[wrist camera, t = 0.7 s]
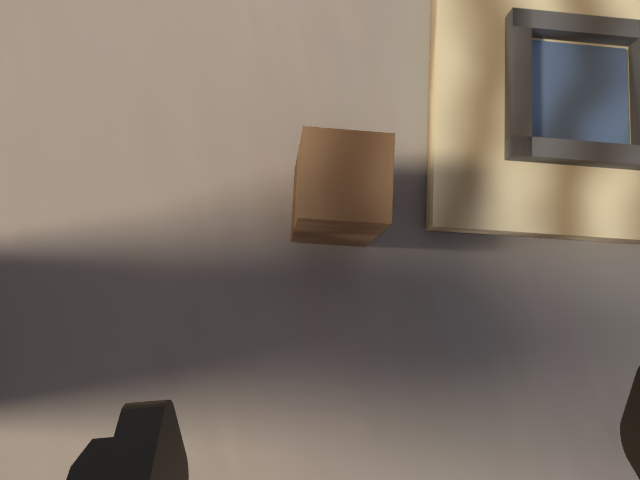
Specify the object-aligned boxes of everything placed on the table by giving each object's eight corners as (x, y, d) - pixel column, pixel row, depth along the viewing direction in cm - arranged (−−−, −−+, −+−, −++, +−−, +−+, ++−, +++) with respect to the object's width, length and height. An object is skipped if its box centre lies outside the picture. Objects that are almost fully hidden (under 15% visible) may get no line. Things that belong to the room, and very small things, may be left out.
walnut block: (290, 241, 36) (297, 217, 29) (294, 169, 37) (302, 126, 29) (364, 246, 37) (391, 224, 29) (367, 174, 37) (394, 133, 30)
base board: (425, 230, 37) (438, 222, 35) (432, -39, 40) (444, -65, 37) (702, 248, 39) (734, 242, 36) (690, -13, 41) (719, -36, 39)
